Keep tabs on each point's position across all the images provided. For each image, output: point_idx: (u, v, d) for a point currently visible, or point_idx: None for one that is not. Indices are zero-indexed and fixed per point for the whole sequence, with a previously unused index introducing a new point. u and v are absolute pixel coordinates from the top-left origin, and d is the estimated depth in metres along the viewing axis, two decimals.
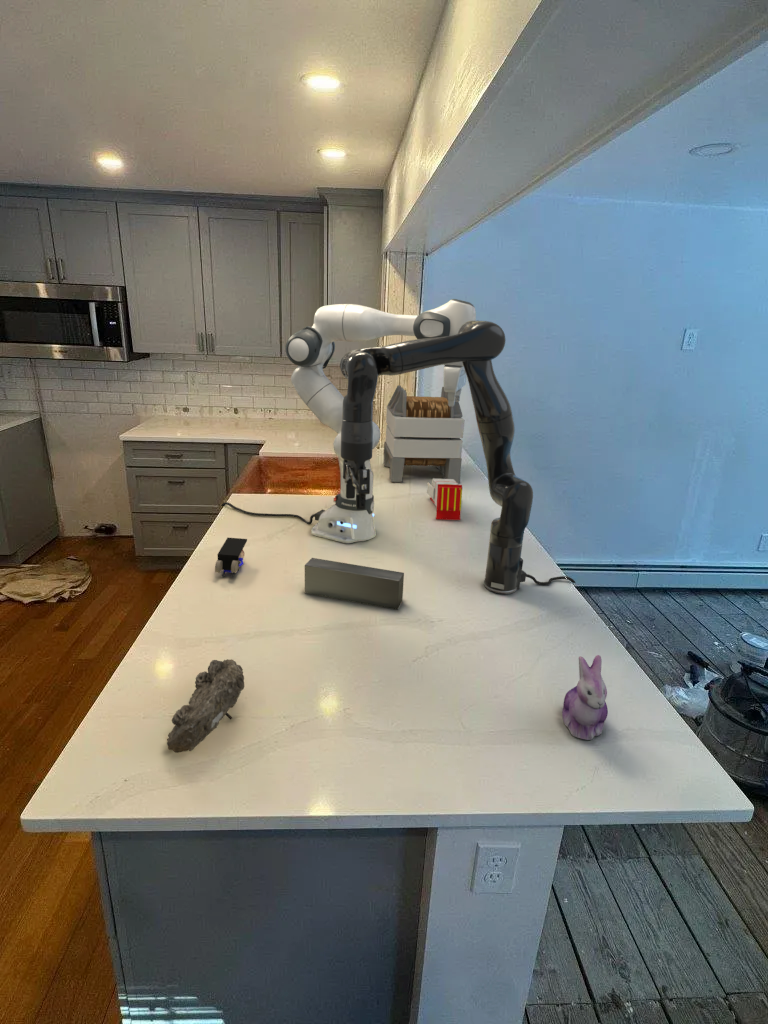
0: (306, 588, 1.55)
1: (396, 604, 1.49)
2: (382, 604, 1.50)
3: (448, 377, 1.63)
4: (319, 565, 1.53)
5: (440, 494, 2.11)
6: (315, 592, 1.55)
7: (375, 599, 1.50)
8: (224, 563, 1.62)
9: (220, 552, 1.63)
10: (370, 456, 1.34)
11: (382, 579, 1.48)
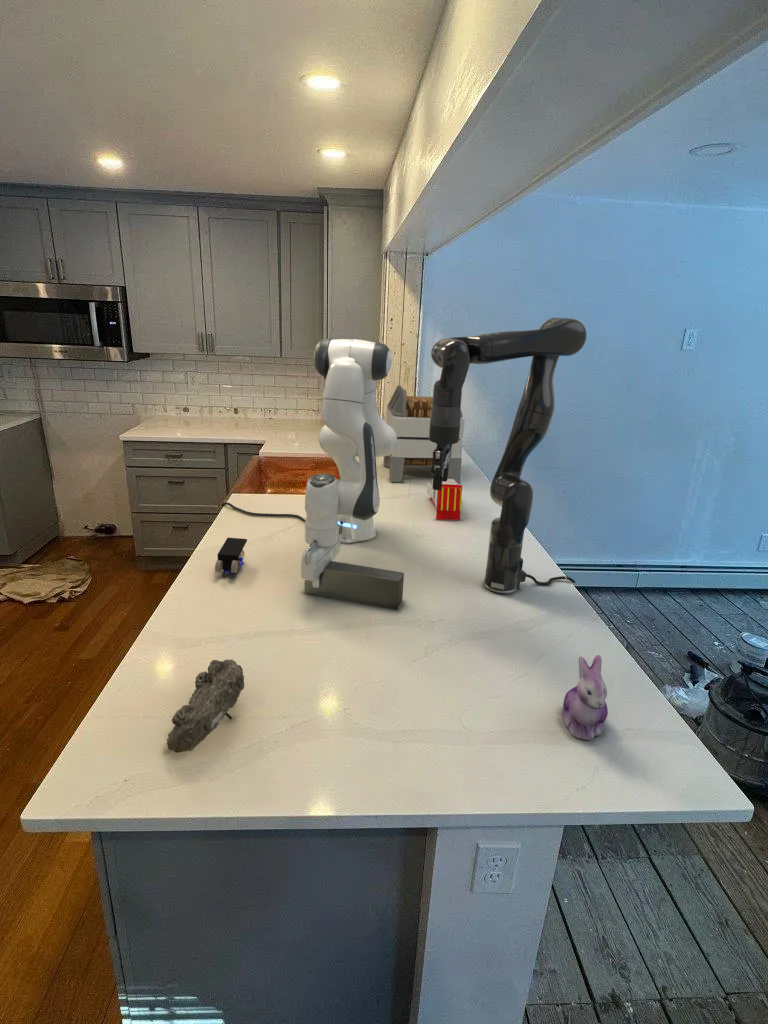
0: (306, 588, 1.55)
1: (396, 604, 1.49)
2: (382, 604, 1.50)
3: None
4: None
5: (440, 494, 2.11)
6: (315, 592, 1.55)
7: (375, 599, 1.50)
8: (224, 563, 1.62)
9: (220, 552, 1.63)
10: (452, 441, 1.39)
11: (382, 579, 1.48)
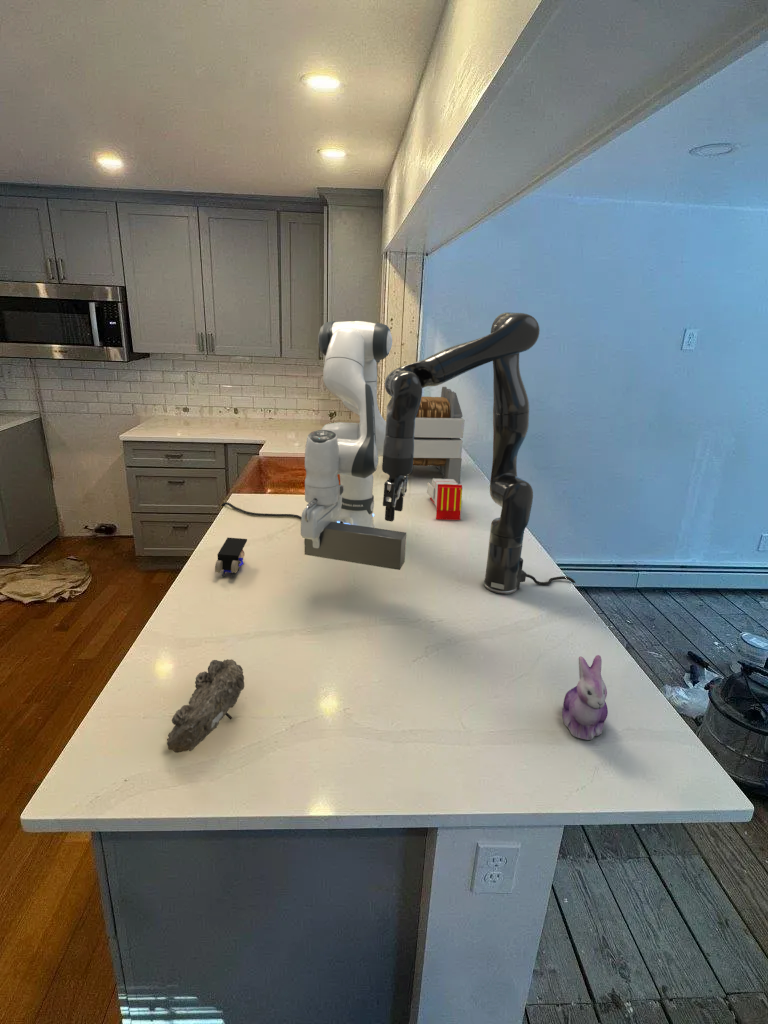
0: (306, 549, 1.51)
1: (398, 564, 1.45)
2: (384, 565, 1.46)
3: None
4: None
5: (440, 494, 2.11)
6: (315, 554, 1.51)
7: (377, 560, 1.47)
8: (224, 563, 1.62)
9: (220, 552, 1.63)
10: (405, 472, 1.37)
11: (384, 538, 1.44)
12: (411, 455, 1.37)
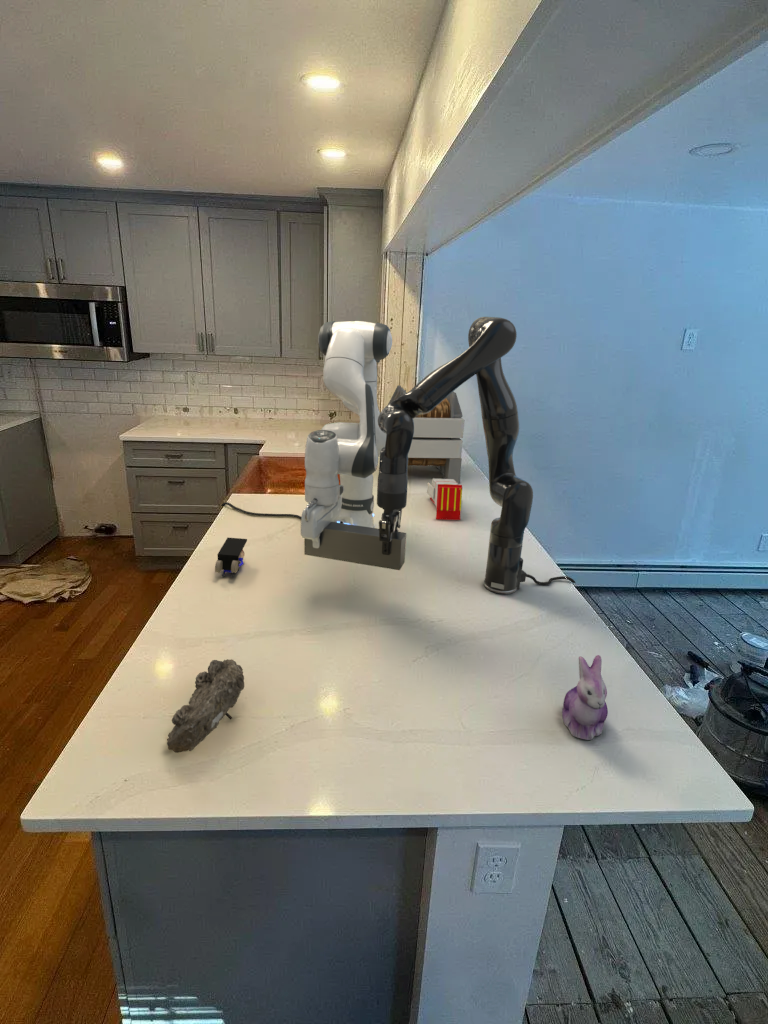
0: (306, 549, 1.51)
1: (398, 564, 1.45)
2: (384, 565, 1.46)
3: None
4: None
5: (440, 494, 2.11)
6: (315, 554, 1.51)
7: (377, 560, 1.47)
8: (224, 563, 1.62)
9: (220, 552, 1.63)
10: (399, 506, 1.40)
11: None
12: (405, 490, 1.40)
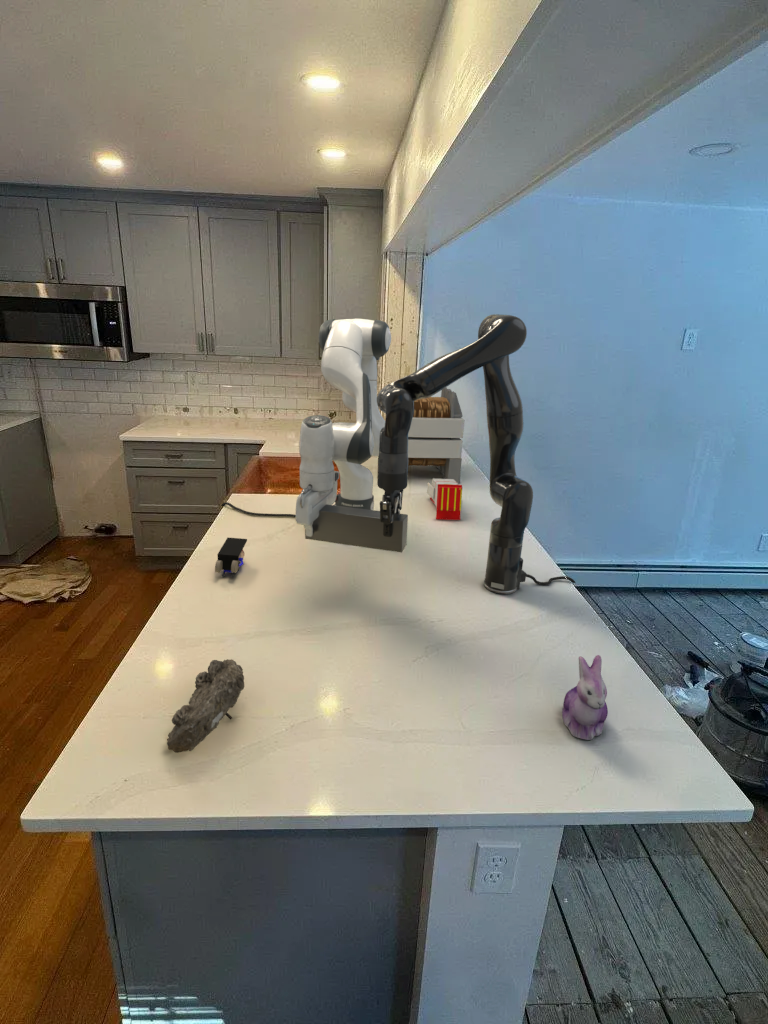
0: None
1: (400, 546, 1.44)
2: (385, 547, 1.45)
3: None
4: None
5: (440, 494, 2.11)
6: (316, 538, 1.50)
7: (378, 542, 1.45)
8: (224, 563, 1.62)
9: (220, 552, 1.63)
10: (400, 487, 1.38)
11: None
12: (405, 470, 1.38)
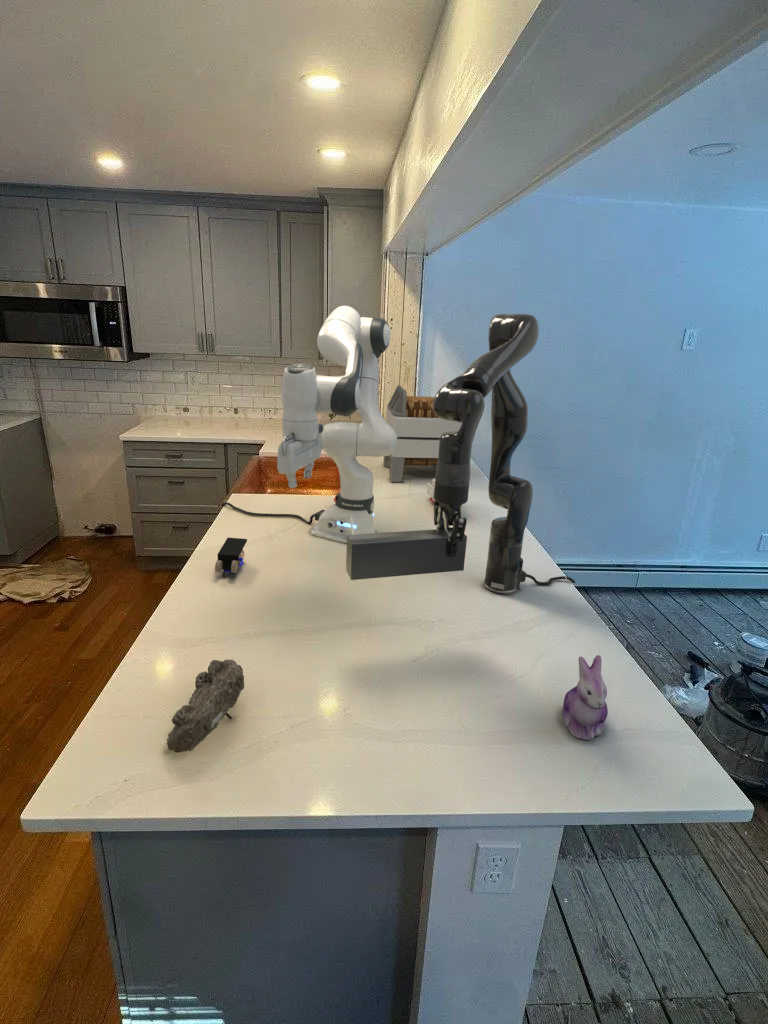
0: (353, 573, 1.23)
1: (462, 564, 1.30)
2: (446, 569, 1.29)
3: None
4: (368, 540, 1.22)
5: None
6: (365, 576, 1.24)
7: (439, 565, 1.28)
8: (224, 563, 1.62)
9: (220, 552, 1.63)
10: (466, 499, 1.24)
11: None
12: None
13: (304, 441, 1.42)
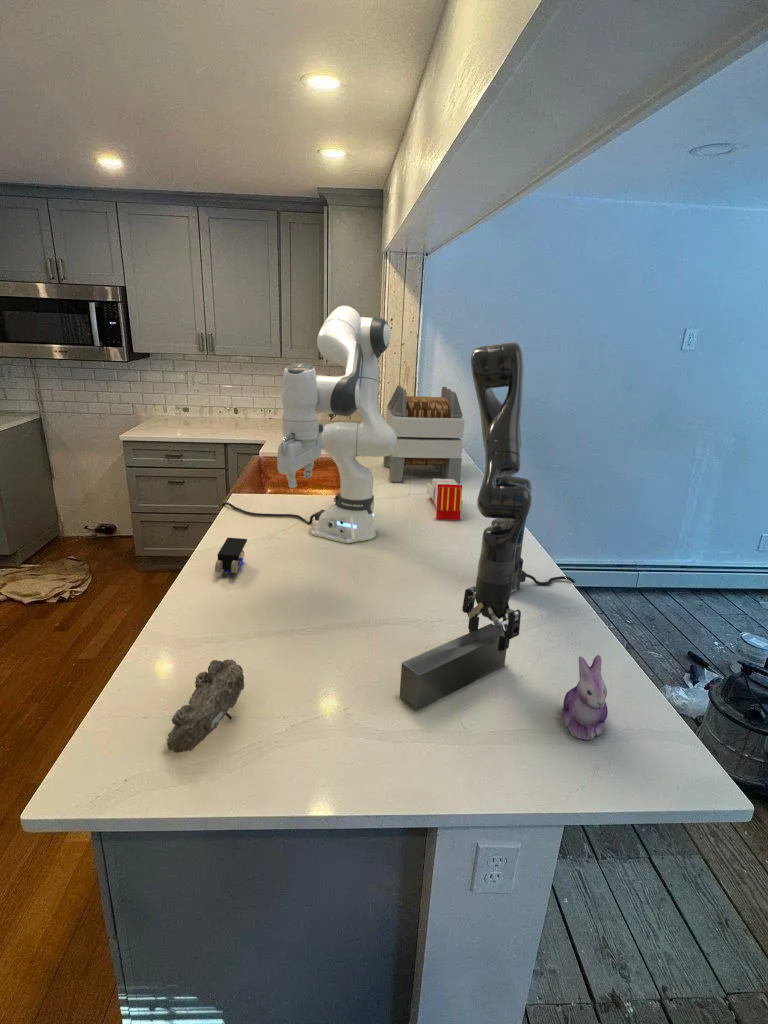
0: (418, 704, 1.12)
1: (504, 661, 1.27)
2: (492, 669, 1.25)
3: None
4: (429, 665, 1.12)
5: (440, 494, 2.11)
6: (428, 702, 1.14)
7: (487, 668, 1.23)
8: (224, 563, 1.62)
9: (220, 552, 1.63)
10: None
11: (495, 641, 1.22)
12: None
13: (304, 441, 1.42)
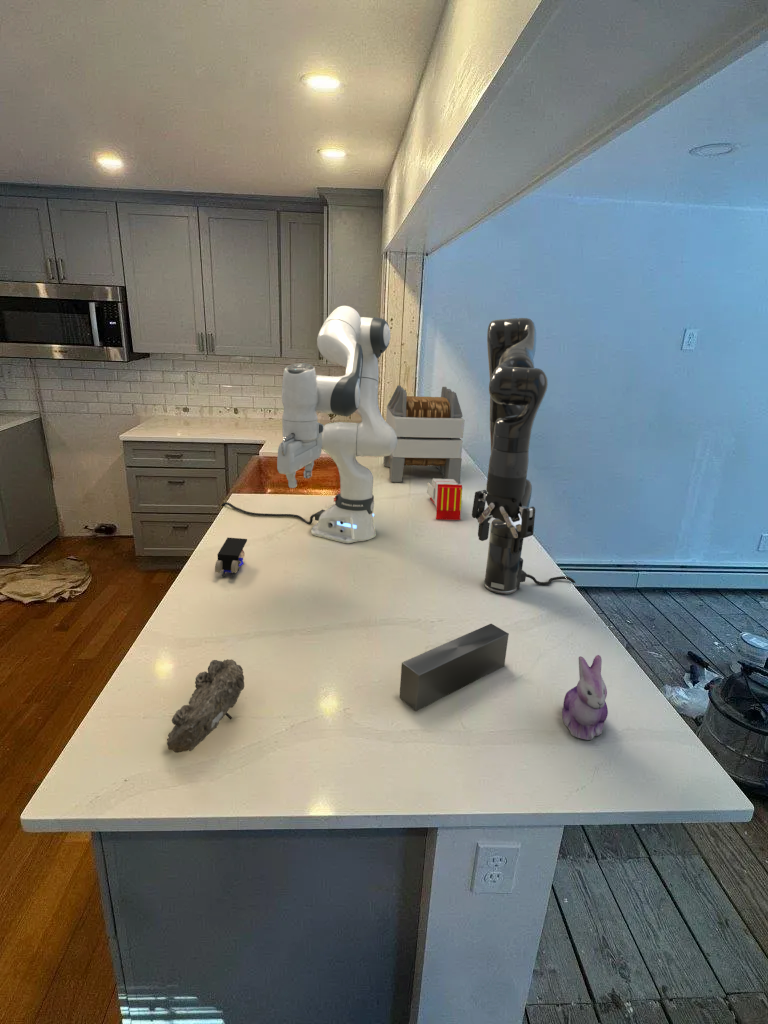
0: (418, 704, 1.12)
1: (504, 661, 1.27)
2: (492, 669, 1.25)
3: None
4: (429, 665, 1.12)
5: (440, 494, 2.11)
6: (428, 702, 1.14)
7: (487, 668, 1.23)
8: (224, 563, 1.62)
9: (220, 552, 1.63)
10: None
11: (495, 641, 1.22)
12: None
13: (304, 441, 1.42)
